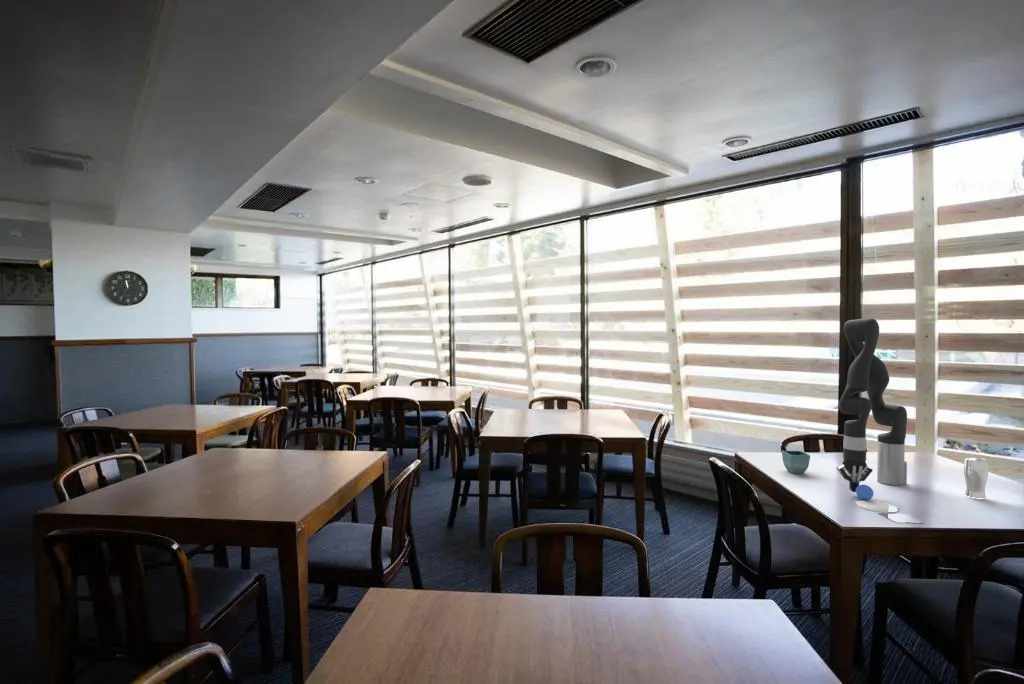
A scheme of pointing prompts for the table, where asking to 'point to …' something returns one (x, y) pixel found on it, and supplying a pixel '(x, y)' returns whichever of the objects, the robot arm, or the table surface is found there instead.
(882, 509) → the disc
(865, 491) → the ball
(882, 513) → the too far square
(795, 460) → the flower pot
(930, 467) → the table surface
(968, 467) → the beer glass
